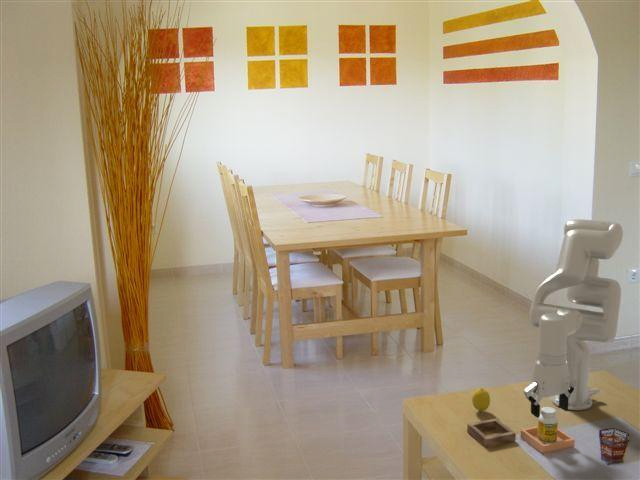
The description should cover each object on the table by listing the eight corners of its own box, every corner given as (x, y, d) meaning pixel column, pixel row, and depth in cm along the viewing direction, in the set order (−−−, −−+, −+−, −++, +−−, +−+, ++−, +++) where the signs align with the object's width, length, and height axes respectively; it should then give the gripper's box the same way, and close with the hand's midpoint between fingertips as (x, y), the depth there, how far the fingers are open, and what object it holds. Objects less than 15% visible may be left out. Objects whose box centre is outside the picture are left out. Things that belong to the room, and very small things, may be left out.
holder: (495, 425, 212) (496, 418, 211) (515, 441, 203) (515, 433, 202) (467, 431, 209) (467, 424, 208) (485, 447, 200) (485, 439, 199)
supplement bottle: (550, 434, 205) (551, 404, 203) (560, 443, 200) (562, 412, 198) (533, 437, 204) (535, 406, 202) (543, 446, 198) (545, 415, 196)
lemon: (489, 416, 218) (490, 392, 217) (471, 414, 219) (472, 391, 218) (489, 408, 224) (490, 385, 222) (471, 407, 225) (472, 384, 223)
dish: (550, 431, 208) (550, 423, 208) (574, 447, 198) (574, 439, 198) (520, 437, 205) (520, 429, 204) (543, 454, 195) (543, 446, 194)
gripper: (568, 347, 202) (565, 400, 207) (517, 357, 197) (516, 412, 201) (586, 356, 196) (582, 412, 200) (534, 367, 190) (532, 424, 194)
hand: (549, 412), depth 200 cm, fingers open, 9 cm apart
